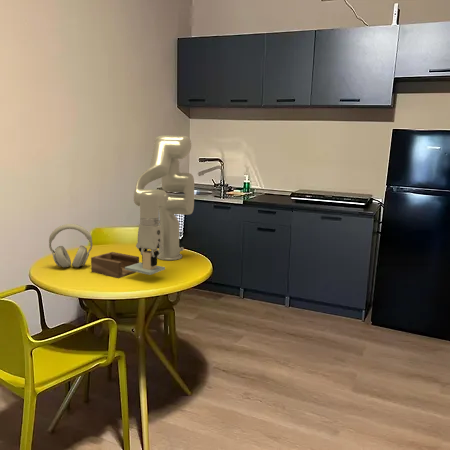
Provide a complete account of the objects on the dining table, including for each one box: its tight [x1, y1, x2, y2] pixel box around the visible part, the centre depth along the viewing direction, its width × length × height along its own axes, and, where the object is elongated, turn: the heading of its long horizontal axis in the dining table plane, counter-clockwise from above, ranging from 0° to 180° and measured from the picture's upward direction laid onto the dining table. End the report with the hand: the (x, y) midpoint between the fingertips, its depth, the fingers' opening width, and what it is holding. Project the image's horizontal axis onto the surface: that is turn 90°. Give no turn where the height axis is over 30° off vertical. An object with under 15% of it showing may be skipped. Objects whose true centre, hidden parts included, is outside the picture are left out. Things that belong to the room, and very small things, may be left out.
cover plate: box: [125, 249, 166, 276], centre depth 193 cm, size 10×14×8 cm
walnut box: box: [90, 251, 140, 279], centre depth 202 cm, size 13×16×7 cm
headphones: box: [48, 223, 93, 269], centre depth 206 cm, size 18×10×20 cm, turn 100°
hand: (149, 264), depth 192 cm, fingers closed on cover plate, 4 cm apart
